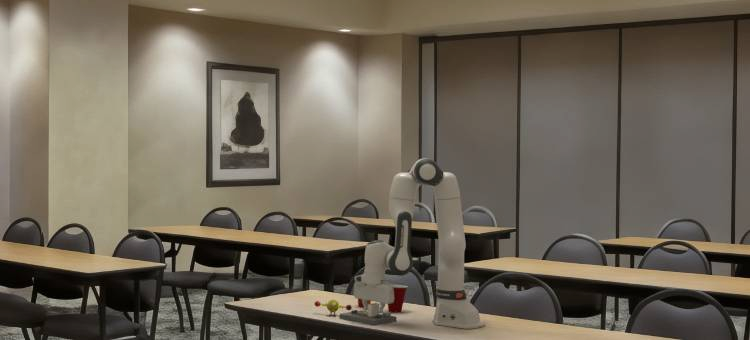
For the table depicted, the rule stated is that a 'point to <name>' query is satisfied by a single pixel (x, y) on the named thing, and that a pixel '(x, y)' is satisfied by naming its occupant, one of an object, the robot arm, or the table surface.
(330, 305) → the toy figure
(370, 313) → the block
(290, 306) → the table surface
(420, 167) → the robot arm
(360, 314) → the console
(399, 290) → the plastic cup
